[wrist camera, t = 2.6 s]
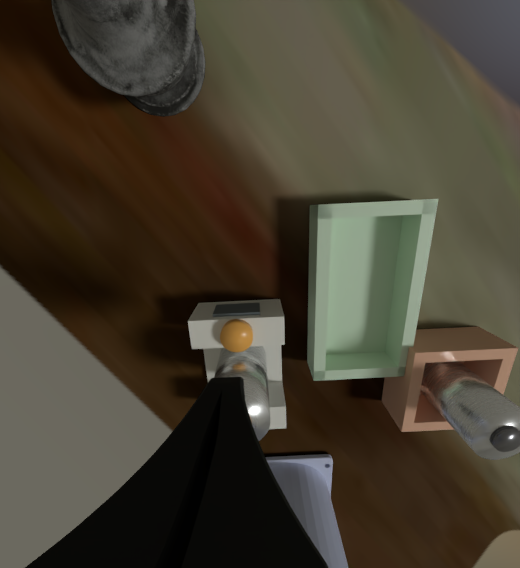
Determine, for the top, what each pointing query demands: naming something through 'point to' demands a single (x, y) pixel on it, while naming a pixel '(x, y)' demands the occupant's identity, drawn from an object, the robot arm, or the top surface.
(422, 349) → the cup
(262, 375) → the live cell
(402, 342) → the trough
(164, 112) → the grey chess piece
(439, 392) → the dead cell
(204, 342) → the cradle
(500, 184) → the top surface
